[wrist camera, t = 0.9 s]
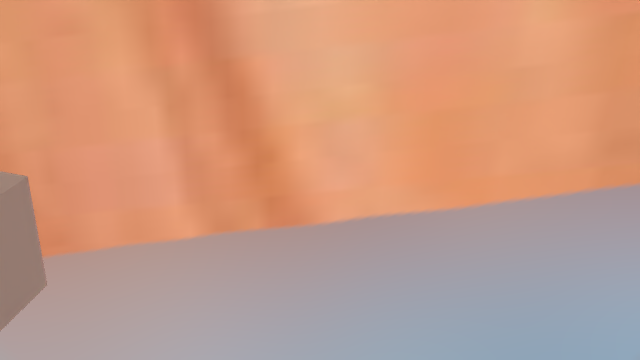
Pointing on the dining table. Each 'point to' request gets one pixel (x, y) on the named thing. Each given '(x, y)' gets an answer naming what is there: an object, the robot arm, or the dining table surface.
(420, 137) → the dining table surface
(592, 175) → the dining table surface
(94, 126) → the dining table surface
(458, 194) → the dining table surface
